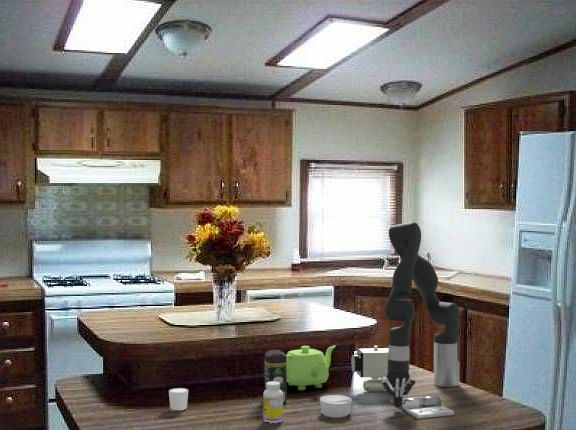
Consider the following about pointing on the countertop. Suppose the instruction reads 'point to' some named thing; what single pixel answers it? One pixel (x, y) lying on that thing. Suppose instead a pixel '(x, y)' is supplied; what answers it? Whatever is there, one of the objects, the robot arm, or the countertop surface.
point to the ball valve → (371, 367)
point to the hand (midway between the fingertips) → (397, 407)
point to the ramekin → (335, 405)
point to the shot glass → (178, 398)
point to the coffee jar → (276, 370)
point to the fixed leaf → (427, 401)
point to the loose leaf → (424, 409)
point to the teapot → (308, 367)
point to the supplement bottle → (273, 403)
